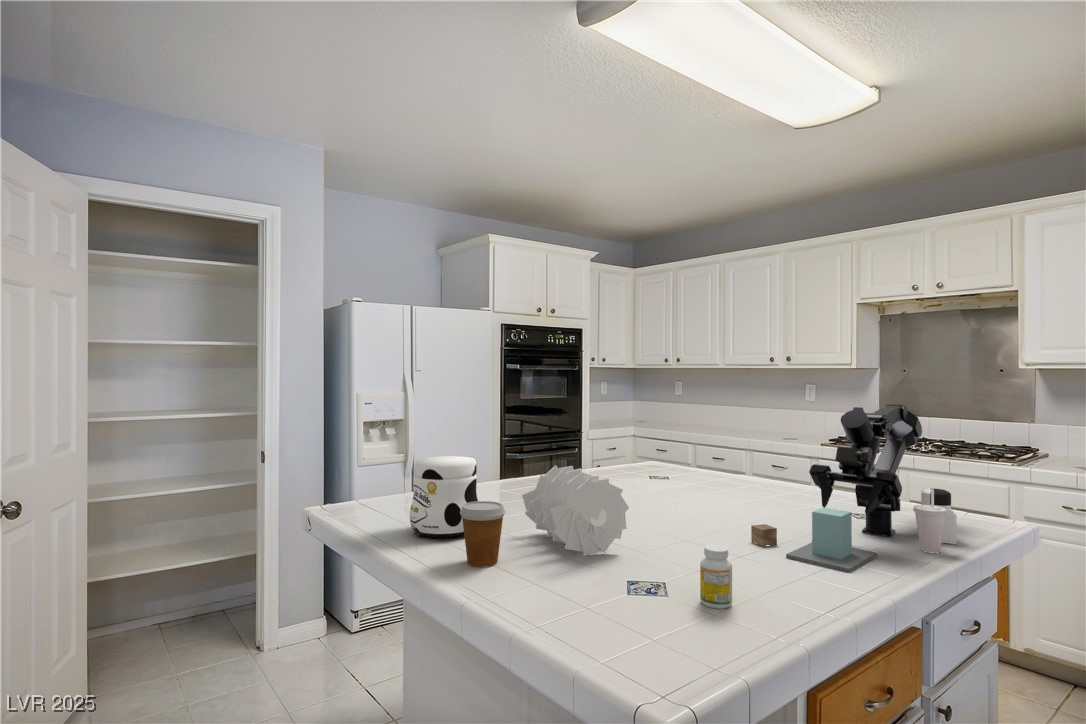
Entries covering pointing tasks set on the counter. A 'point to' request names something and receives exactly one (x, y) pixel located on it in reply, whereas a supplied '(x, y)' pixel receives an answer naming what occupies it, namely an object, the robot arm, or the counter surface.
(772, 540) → the block
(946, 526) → the medicine bottle
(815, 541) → the pale teal box
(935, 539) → the smoothie
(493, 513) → the disposable coffee cup
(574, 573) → the counter surface
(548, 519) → the spiral staircase
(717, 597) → the supplement bottle
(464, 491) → the milk container
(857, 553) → the mat
